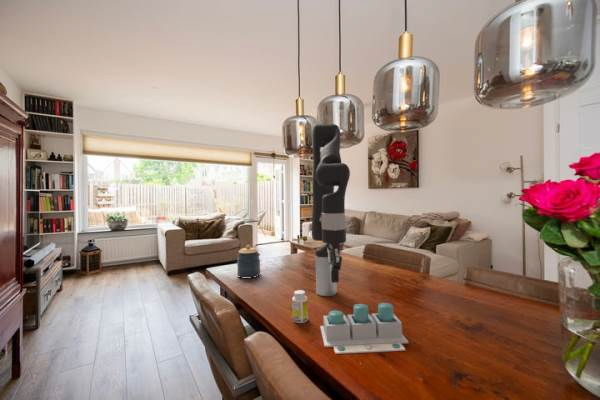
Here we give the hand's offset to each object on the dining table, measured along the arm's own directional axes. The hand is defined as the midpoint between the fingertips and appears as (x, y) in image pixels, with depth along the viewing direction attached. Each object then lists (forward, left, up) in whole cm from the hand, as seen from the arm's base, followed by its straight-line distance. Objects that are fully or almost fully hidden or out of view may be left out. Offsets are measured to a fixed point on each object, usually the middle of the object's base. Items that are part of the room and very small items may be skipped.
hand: (334, 281), depth 85 cm
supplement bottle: (-12, -11, -18) cm, 24 cm away
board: (0, +8, -17) cm, 19 cm away
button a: (0, 0, -16) cm, 16 cm away
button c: (0, +16, -14) cm, 21 cm away
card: (+8, +8, -17) cm, 21 cm away
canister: (-70, -38, -18) cm, 81 cm away
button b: (0, +8, -14) cm, 16 cm away
